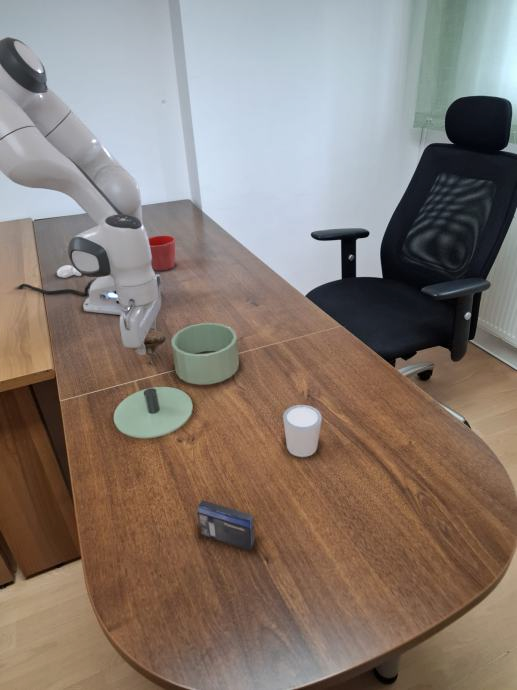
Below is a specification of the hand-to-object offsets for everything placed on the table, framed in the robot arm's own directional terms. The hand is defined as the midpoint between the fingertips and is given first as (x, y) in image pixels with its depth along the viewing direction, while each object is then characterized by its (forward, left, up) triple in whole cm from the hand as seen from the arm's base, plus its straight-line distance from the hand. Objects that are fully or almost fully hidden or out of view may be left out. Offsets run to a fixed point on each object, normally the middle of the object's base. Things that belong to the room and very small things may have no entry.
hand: (147, 344), depth 109 cm
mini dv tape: (+25, -48, -5) cm, 54 cm away
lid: (+6, -20, -4) cm, 21 cm away
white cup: (+36, -28, -5) cm, 46 cm away
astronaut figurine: (-43, +55, -5) cm, 70 cm away
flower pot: (-13, +60, -5) cm, 62 cm away
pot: (+14, -3, -5) cm, 15 cm away
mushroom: (0, 0, -2) cm, 2 cm away
